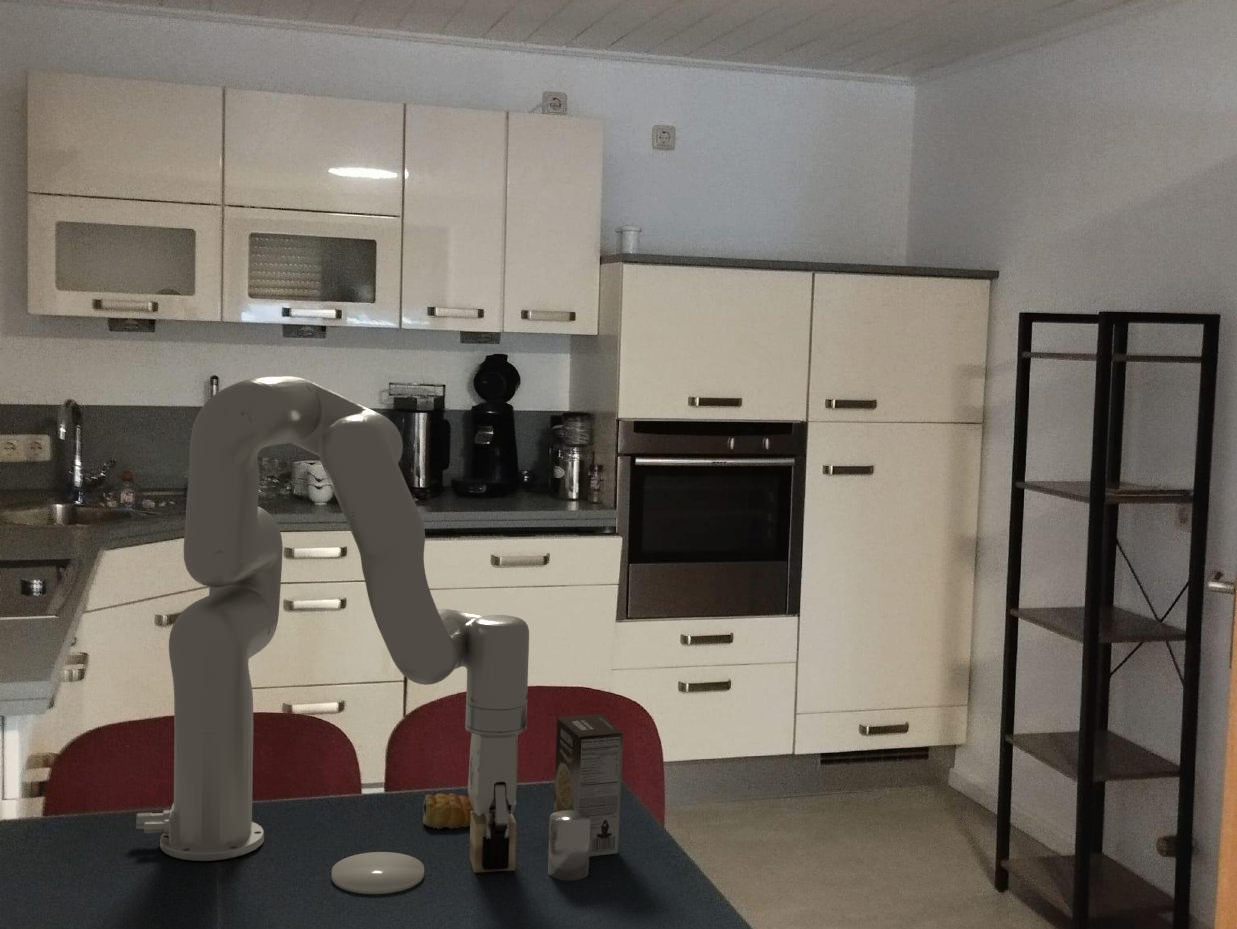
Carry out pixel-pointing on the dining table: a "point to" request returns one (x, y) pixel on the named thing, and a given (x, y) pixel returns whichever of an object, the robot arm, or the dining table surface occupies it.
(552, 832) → the tin
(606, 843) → the coffee box
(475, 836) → the block
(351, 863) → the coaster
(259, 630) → the robot arm
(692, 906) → the dining table surface
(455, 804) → the pastry
